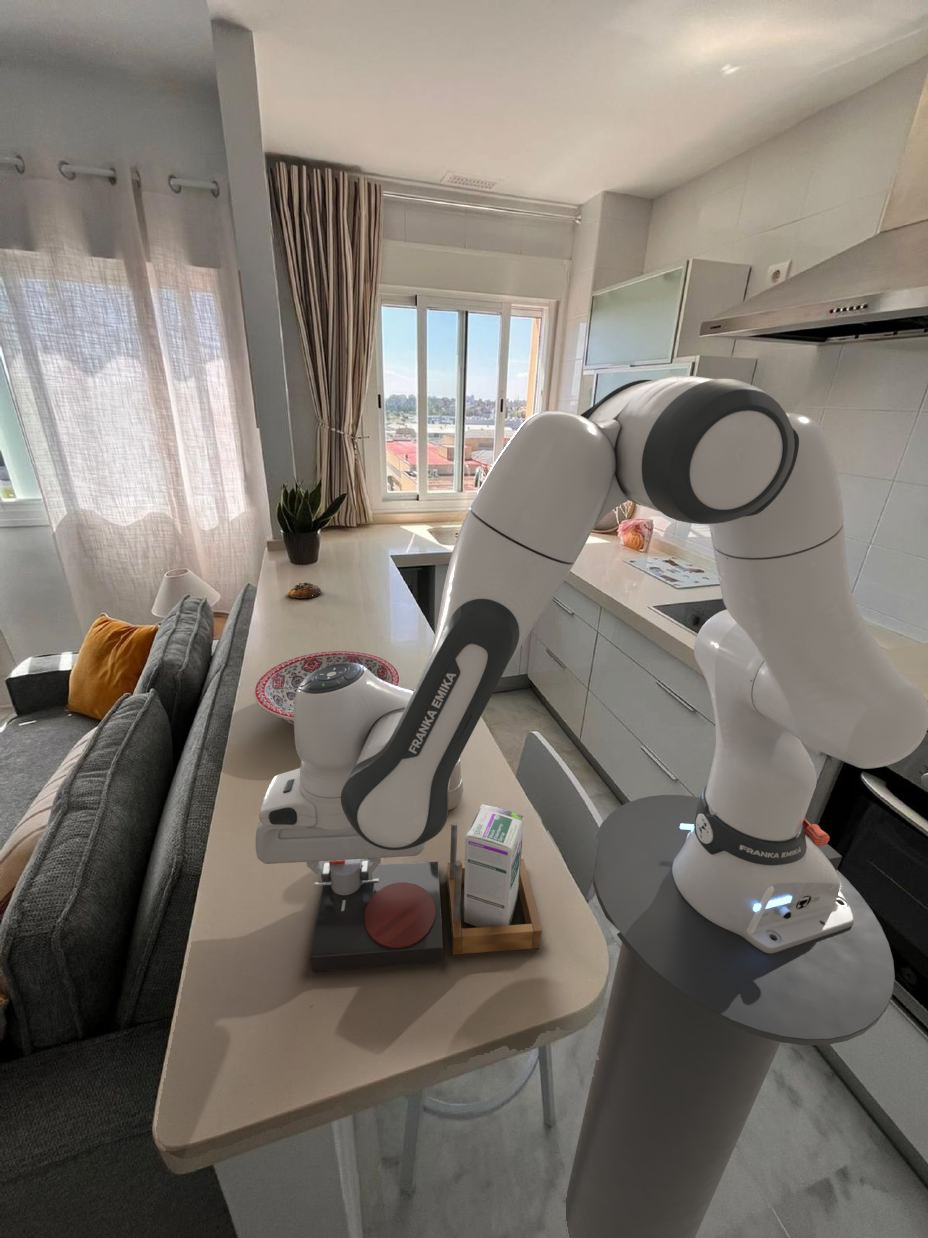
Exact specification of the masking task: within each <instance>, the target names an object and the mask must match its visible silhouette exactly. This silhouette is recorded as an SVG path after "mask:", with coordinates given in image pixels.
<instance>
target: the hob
mask: <svg viewBox="0 0 928 1238" xmlns="http://www.w3.org/2000/svg"><path fill="white" fill-rule="evenodd" d="M439 871H440V870H439V861H425V862H410V863H409V862H408V863H407V862H406V863H390V864H389V863H388V864H387V863H386V864H378V866H377V867H376V868H375V869H374V871H373V880H362V884H361V886H360V888H359V889H358V890H357V891H356V892H354V893H352V894H350V895H339V894H336V893H335V892H334V891H333V890H332V888H331V881H330V882H325V883H318V881H315V882H314V883H313V885H314V886H322V889H321V894H320V899H319V900H320V901H319V904H318V911H317V914H316V915H317V916H316V920H315V926H314V932H313V937H312V942H311V946H310V952H309V956H308V957H309V966H310V972H311V973H314V972H328V971H340V970H341V971H342V970H353V969H355V970H356V969H366V968H367V969H369V968H380V967H392V966H405V965H418V964H419V965H420V964H430V963H431V964H433V963H442V962H444V935H443V920H442V919H443V918H442V903H441V889H440V888H441V885H440V874H439V873H440V872H439ZM399 882H408V883H413V884H416V885H418V886H420V887H422V888H423V889H425V890H426V891H427V892H428V893H429V894H430V896H431V897H432V899H433V901H434V905H435V921H434V924H433V926H432V928H431V930H430V931H429V933H428V934H427V935H426V936H425V937H424V938H423V939H422V940H421V941H420V942H418V943H416V944H414V945H412V946H410V947H406V948H401V949H393V948H387V947H384V946H382V945H380V944H378V943H376V942H375V941H374V940H373V939H372V938H371V937H370V935H369V934H368V932H367V930H366V927H365V921H364V915H365V910H366V907H367V904H368V902H369V901H370V899H371V898H372V897H373V895H374V894H375V893H376V892H378V891H379V890H380V889H382V888H383V887H385V886H387V885H390V884H393V883H399Z"/></svg>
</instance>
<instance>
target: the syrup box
mask: <svg viewBox="0 0 928 1238" xmlns="http://www.w3.org/2000/svg"><path fill="white" fill-rule="evenodd" d="M524 823H525V817H524V815H521V814H520V813H516V812H513V811H510V810H507V809H504V808H501V807H496V806H492V805H487V804H483V803H481V804H480V807H479V808H478V811H477V813H476V815H475V816H474V818H473V820H472V822H471V824H470V826H469V829H468V831H467V833H466V835H465V846H464V847H465V848H464V849H465V850H464V862H465V879H464V884H463V885H464V886H463V887H464V888H463V895H464V896H463V922H464V923H465V924H468V925H470V926H473V927H475V928H480V927H494V926H508V925H511V923H512V921H513V920H512V919H513V917H514V913H515V910H516V907H517V904H518V900H519V891H518V889H519V877H520V864H521V859H522V848H523V836H524Z"/></svg>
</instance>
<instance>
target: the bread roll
mask: <svg viewBox="0 0 928 1238" xmlns="http://www.w3.org/2000/svg"><path fill="white" fill-rule="evenodd" d="M289 589H290V590H288V592H287V594H288V596H289V597H291V598H293V599H311V598H316V597H319V596H320V595H321V592H322V590H321V588H320V587H319V586H318V585H315V584H313V583H311V582H299V583H297V584H295V585H294V586H292V587H291V588H289ZM319 592H320V593H319ZM312 595H313V596H312Z"/></svg>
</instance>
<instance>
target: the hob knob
mask: <svg viewBox="0 0 928 1238" xmlns="http://www.w3.org/2000/svg"><path fill="white" fill-rule="evenodd" d="M328 862H329V869H330V880H331V888H332V890H333V891H334V892H335V893H336V894H339V895H350V894H352V893H354V892H356V891H357V890H358V889H359V888H360V886H361V884H362V880H361V867H362V859H351V860H332V861H328Z"/></svg>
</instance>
